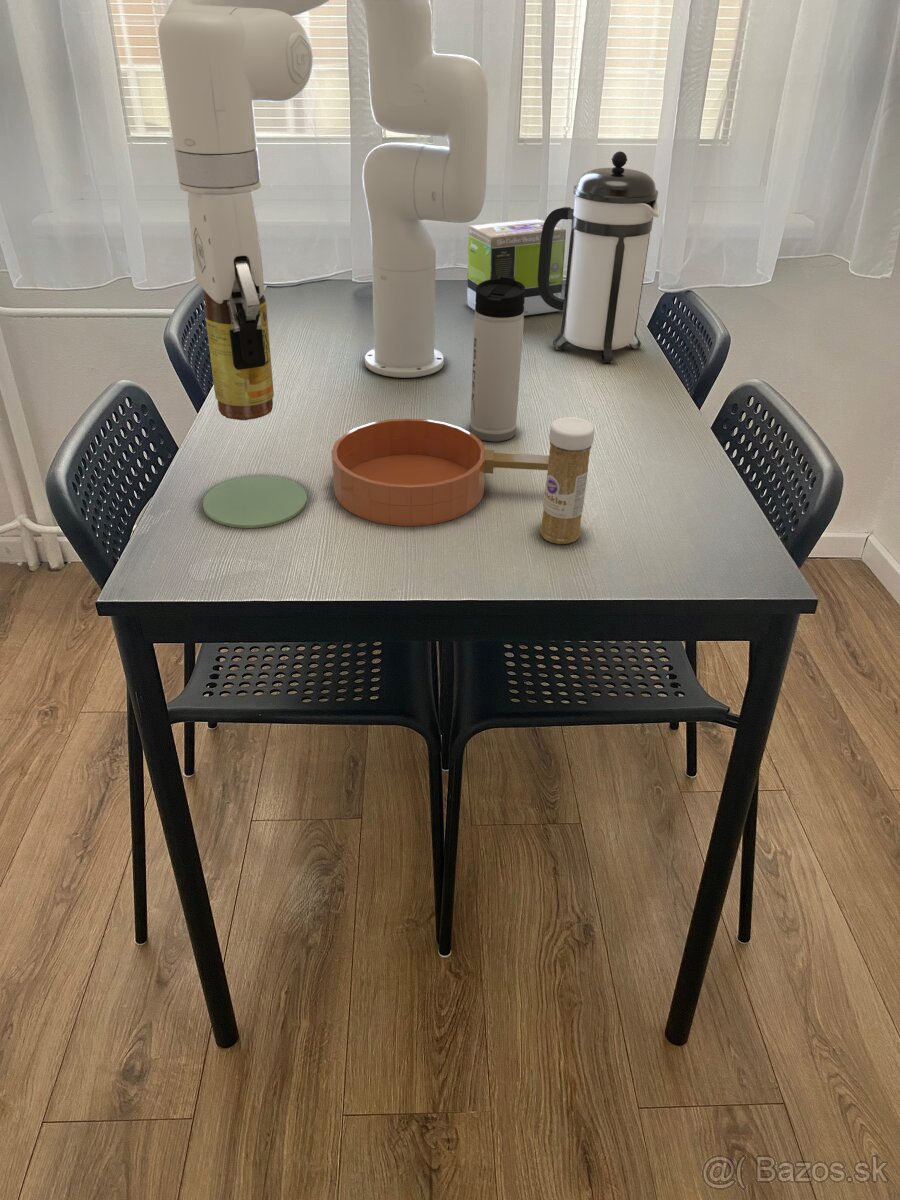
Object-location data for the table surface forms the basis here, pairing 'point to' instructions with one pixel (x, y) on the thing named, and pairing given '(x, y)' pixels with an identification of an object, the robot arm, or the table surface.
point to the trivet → (254, 501)
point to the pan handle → (514, 461)
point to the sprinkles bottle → (566, 479)
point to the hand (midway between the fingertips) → (240, 354)
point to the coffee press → (602, 257)
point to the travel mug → (496, 358)
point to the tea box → (514, 259)
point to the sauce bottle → (234, 388)
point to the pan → (408, 471)
